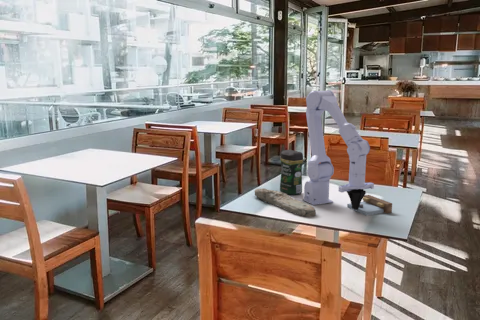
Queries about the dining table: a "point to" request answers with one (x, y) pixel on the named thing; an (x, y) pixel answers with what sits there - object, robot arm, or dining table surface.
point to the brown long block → (378, 203)
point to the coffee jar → (291, 172)
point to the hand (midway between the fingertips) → (355, 208)
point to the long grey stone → (285, 202)
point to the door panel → (367, 209)
